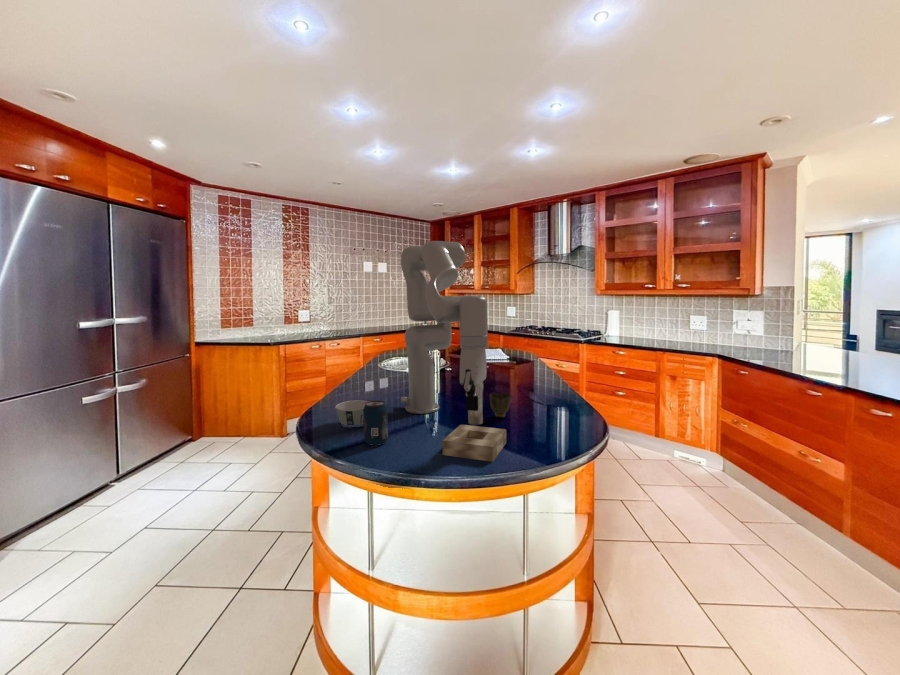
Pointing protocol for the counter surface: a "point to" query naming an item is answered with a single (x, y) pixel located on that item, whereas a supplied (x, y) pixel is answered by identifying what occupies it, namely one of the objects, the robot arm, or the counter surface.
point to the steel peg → (477, 416)
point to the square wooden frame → (474, 442)
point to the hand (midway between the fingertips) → (475, 407)
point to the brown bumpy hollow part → (499, 403)
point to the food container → (351, 412)
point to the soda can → (375, 422)
